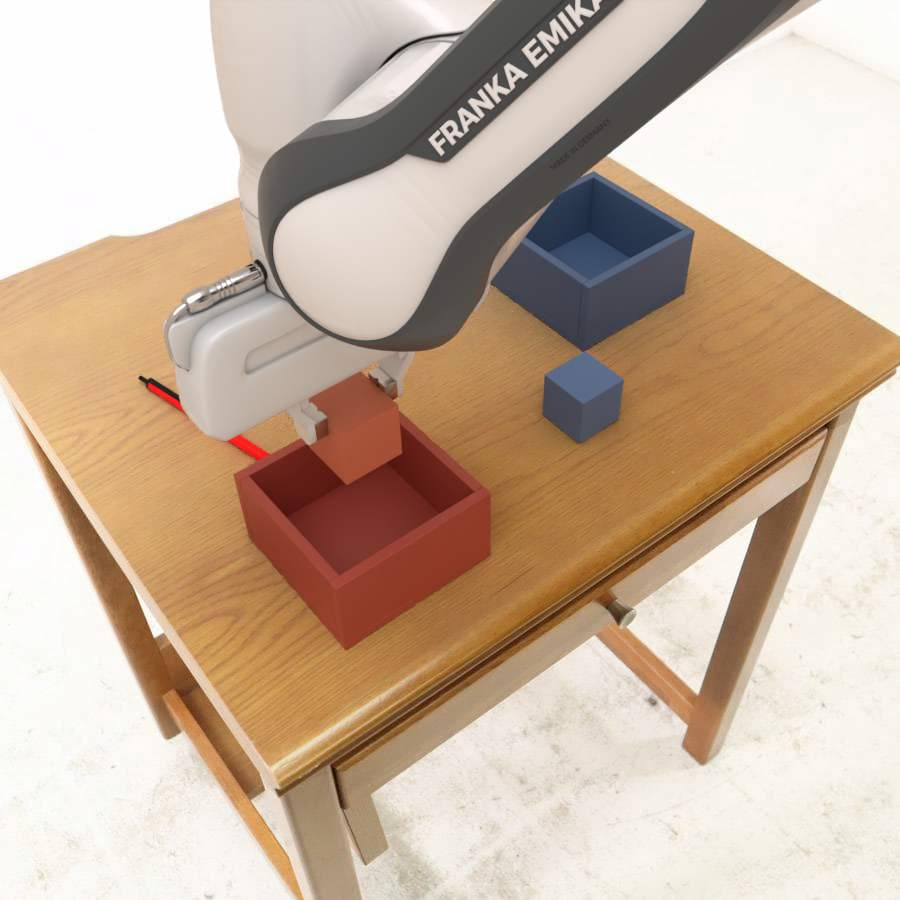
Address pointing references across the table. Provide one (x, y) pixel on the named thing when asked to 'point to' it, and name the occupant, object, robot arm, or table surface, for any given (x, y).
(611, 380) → the blue block
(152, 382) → the pen
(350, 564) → the red bin
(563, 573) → the table surface
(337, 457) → the terracotta block
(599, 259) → the blue bin
